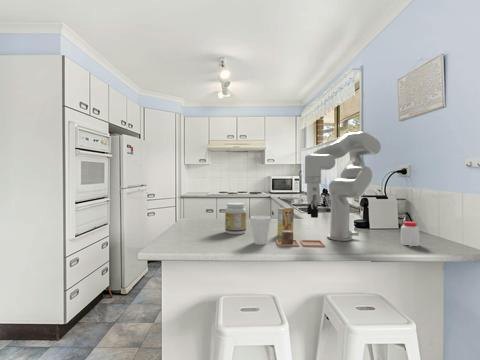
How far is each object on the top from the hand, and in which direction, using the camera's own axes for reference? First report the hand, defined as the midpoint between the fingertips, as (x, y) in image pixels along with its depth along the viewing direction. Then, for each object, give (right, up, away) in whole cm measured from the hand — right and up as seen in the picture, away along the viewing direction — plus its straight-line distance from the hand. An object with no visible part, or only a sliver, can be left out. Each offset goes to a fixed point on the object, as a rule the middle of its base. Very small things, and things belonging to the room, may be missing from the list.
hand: (312, 215), depth 141 cm
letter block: (-12, -14, +1) cm, 18 cm away
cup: (-25, -14, +2) cm, 29 cm away
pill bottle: (+48, -15, +2) cm, 50 cm away
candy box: (-10, -14, +21) cm, 27 cm away
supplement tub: (-37, -13, +28) cm, 48 cm away
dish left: (0, -14, 0) cm, 14 cm away
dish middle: (-12, -14, +1) cm, 19 cm away
